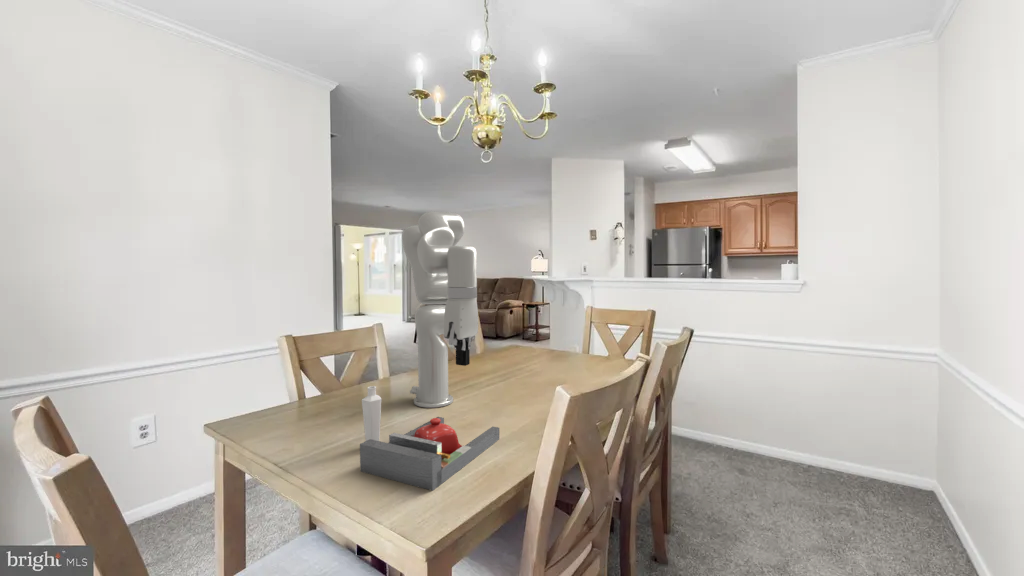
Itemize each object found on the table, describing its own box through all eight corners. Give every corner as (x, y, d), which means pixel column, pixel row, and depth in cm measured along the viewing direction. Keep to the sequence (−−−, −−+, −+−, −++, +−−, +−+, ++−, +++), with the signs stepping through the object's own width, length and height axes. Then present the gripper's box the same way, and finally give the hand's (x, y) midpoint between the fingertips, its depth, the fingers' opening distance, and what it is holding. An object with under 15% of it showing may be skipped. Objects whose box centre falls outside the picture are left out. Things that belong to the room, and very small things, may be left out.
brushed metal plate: (389, 461, 98) (389, 435, 98) (394, 458, 100) (394, 432, 100) (447, 475, 92) (446, 447, 91) (451, 472, 93) (451, 444, 93)
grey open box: (360, 471, 95) (359, 444, 94) (438, 427, 120) (437, 405, 120) (432, 490, 86) (432, 460, 86) (499, 439, 112) (499, 416, 112)
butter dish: (403, 451, 105) (403, 416, 105) (447, 440, 112) (446, 407, 111) (422, 469, 96) (422, 431, 96) (468, 456, 102) (468, 420, 102)
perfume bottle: (377, 442, 110) (375, 383, 109) (385, 447, 107) (384, 387, 106) (359, 447, 107) (358, 387, 106) (367, 453, 104) (366, 390, 103)
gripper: (465, 291, 121) (465, 357, 122) (432, 295, 107) (433, 369, 108) (489, 292, 117) (489, 360, 119) (458, 296, 104) (459, 372, 105)
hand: (462, 364), depth 113 cm, fingers closed
